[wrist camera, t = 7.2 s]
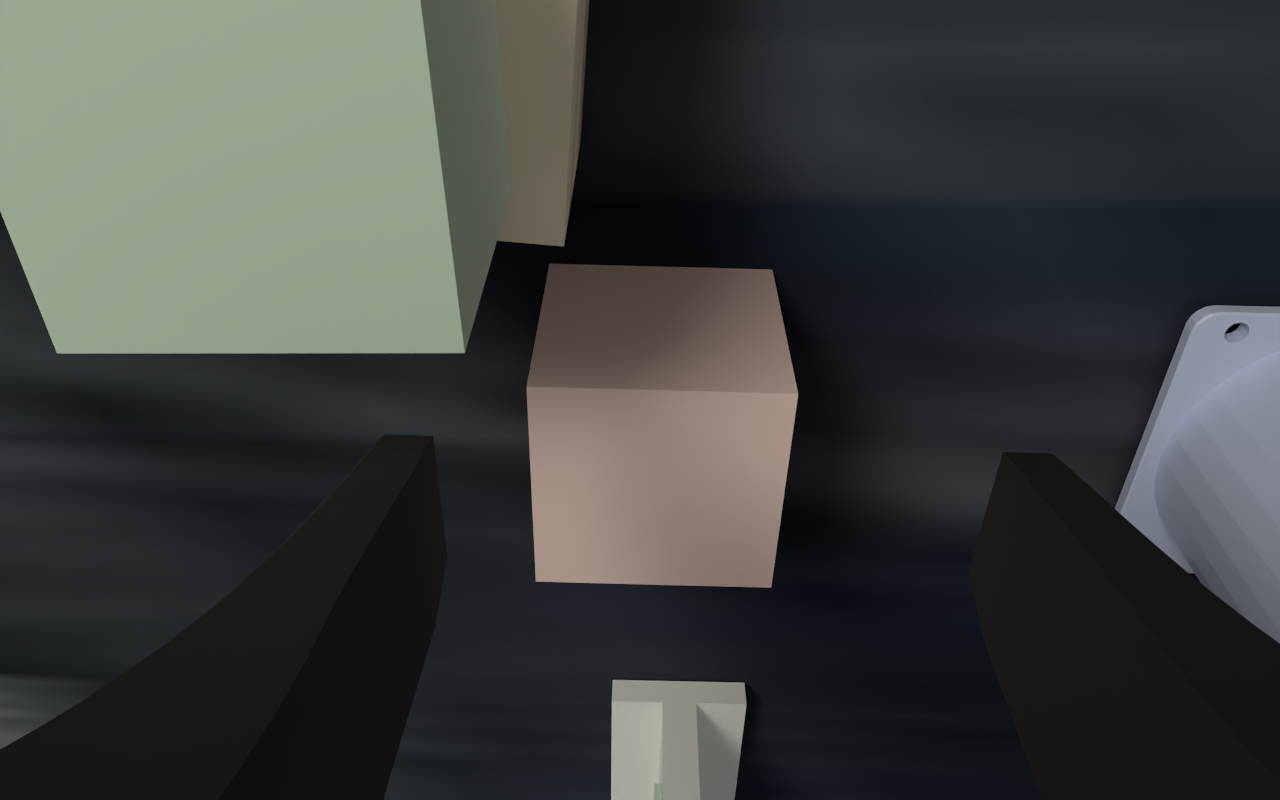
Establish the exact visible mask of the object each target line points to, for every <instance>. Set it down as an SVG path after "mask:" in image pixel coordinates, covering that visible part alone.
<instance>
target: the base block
mask: <svg viewBox="0 0 1280 800" xmlns="http://www.w3.org/2000/svg"><path fill="white" fill-rule="evenodd" d="M496 10H497V21H498V33H499V45H500V57H501V68H502V80H503V92H504V104H505V115H506V127H507V139H508V151H509V163H510V174H511V186H512V190H511V194H510V197H509V201H508V204H507V208H506V211H505V215H504V218H503V222H502V225H501V229H500V232H499V236H498V239H497V241H507V242H518V243H529V244H541V245H552V246H563V247H564V243H565V236H566V230H567V224H568V218H569V211H570V205H571V199H572V193H573V186H574V180H575V174H576V167H577V161H578V155H579V149H580V142H581V126H582V109H583V93H584V77H585V60H586V44H587V27H588V11H589V0H496Z"/></svg>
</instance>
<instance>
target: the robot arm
mask: <svg viewBox="0 0 1280 800" xmlns="http://www.w3.org/2000/svg"><path fill="white" fill-rule="evenodd" d="M1237 323H1240V325H1239V326H1238V328H1237V329H1236V330H1234V331H1233V332H1231V333H1227V334H1225V332H1226V330H1227V329H1228V328H1229V327H1230V326H1232V325H1233V324H1237ZM446 557H447V553H446V544H445V536H444V527H443V519H442V510H441V502H440V493H439V485H438V476H437V467H436V459H435V450H434V442H433V436H418V435H384V436H383V437H382V438H380V439H379V440H378V441H377V442H376V443H375V444H374V445H373V446H372V448H371V449H370V450H369V451H368V452H367V453H366V454H365V455H364V457H363V458H362V459H361V460H360V461H359V462H358V463H357V464H356V466H355V467H354V468H353V469H352V470H351V471H350V472H349V473H348V474H347V476H346V477H345V478H344V479H343V480H342V481H341V482H340V483H339V484H338V486H337V487H336V488H335V489H334V490H333V491H332V492H331V493H330V494H329V495H328V496H327V498H326V499H325V500H324V501H323V502H322V503H321V504H320V505H319V506H318V507H317V508H316V509H315V510H314V511H313V512H312V513H311V514H310V515H309V516H308V517H307V518H306V519H305V521H304V522H303V523H302V524H301V525H300V526H299V527H298V528H297V529H296V530H295V531H294V532H293V533H292V534H291V535H290V536H289V537H288V538H287V539H286V540H285V541H284V542H283V543H282V544H281V545H280V546H279V547H278V548H277V549H276V550H275V551H274V552H273V553H272V554H271V555H269V556H268V557H267V558H266V559H265V560H264V561H263V562H262V563H261V564H260V565H259V566H258V567H257V568H255V569H254V570H253V571H252V572H251V573H250V574H249V575H248V576H247V577H246V578H245V579H244V580H243V581H241V582H240V583H239V584H238V585H237V586H236V587H235V588H234V589H233V590H232V591H231V592H229V593H228V594H227V595H226V596H225V597H224V598H222V599H221V600H220V601H219V602H218V603H217V604H215V605H214V606H213V607H212V608H211V609H210V610H208V611H207V612H206V613H205V614H203V615H202V616H201V617H200V618H199V619H197V620H196V621H195V622H194V623H192V624H191V625H190V626H189V627H187V628H186V629H185V630H183V631H182V632H181V633H180V634H178V635H177V636H176V637H174V638H173V639H172V640H171V641H169V642H168V643H167V644H165V645H164V646H162V647H161V648H160V649H158V650H157V651H156V652H154V653H153V654H151V655H150V656H148V657H147V658H145V659H144V660H143V661H141V662H140V663H138V664H137V665H135V666H134V667H132V668H131V669H129V670H128V671H126V672H125V673H123V674H122V675H120V676H119V677H117V678H116V679H115V680H113V681H112V682H110V683H109V684H107V685H106V686H104V687H103V688H101V689H100V690H98V691H97V692H95V693H94V694H92V695H91V696H89V697H88V698H86V699H85V700H83V701H82V702H80V703H79V704H77V705H75V706H74V707H72V708H70V709H69V710H67V711H65V712H64V713H62V714H61V715H59V716H57V717H56V718H54V719H52V720H51V721H49V722H47V723H46V724H44V725H42V726H41V727H39V728H37V729H36V730H34V731H32V732H30V733H29V734H27V735H25V736H23V737H22V738H20V739H18V740H16V741H14V742H13V743H11V744H9V745H7V746H6V747H4V748H2V749H0V800H384V796H385V792H386V788H387V784H388V780H389V777H390V774H391V771H392V767H393V764H394V761H395V757H396V754H397V751H398V748H399V744H400V741H401V738H402V734H403V731H404V728H405V725H406V721H407V718H408V715H409V711H410V708H411V705H412V702H413V698H414V695H415V692H416V688H417V685H418V682H419V678H420V675H421V672H422V668H423V665H424V662H425V658H426V655H427V652H428V648H429V645H430V641H431V638H432V635H433V631H434V628H435V623H436V617H437V612H438V606H439V601H440V595H441V589H442V582H443V576H444V570H445V564H446ZM1189 573H1195V575H1196V576H1197V578H1198V579H1199V581H1200V582H1199V581H1198V580H1196V579H1195V578H1194V577H1193V576H1192V575H1190V574H1189ZM969 574H970V578H971V583H972V588H973V593H974V598H975V603H976V608H977V613H978V617H979V621H980V625H981V630H982V634H983V638H984V642H985V645H986V648H987V651H988V654H989V656H990V659H991V662H992V665H993V668H994V670H995V673H996V676H997V679H998V681H999V684H1000V687H1001V690H1002V692H1003V695H1004V698H1005V701H1006V703H1007V706H1008V709H1009V711H1010V714H1011V717H1012V719H1013V722H1014V725H1015V727H1016V730H1017V733H1018V736H1019V738H1020V741H1021V744H1022V746H1023V749H1024V752H1025V754H1026V757H1027V760H1028V762H1029V765H1030V768H1031V770H1032V773H1033V776H1034V779H1035V781H1036V784H1037V787H1038V789H1039V792H1040V795H1041V797H1042V800H1280V307H1264V306H1220V305H1214V306H1207V307H1204V308H1202V309H1200V310H1198V311H1196V312H1195V313H1194V314H1193V315H1192V316H1190V318H1189V319H1188V321H1187V323H1186V324H1185V327H1184V330H1183V332H1182V335H1181V337H1180V340H1179V343H1178V345H1177V348H1176V350H1175V353H1174V356H1173V358H1172V361H1171V363H1170V366H1169V369H1168V371H1167V374H1166V376H1165V379H1164V382H1163V384H1162V387H1161V389H1160V392H1159V395H1158V397H1157V400H1156V402H1155V405H1154V408H1153V410H1152V413H1151V415H1150V418H1149V421H1148V423H1147V426H1146V429H1145V431H1144V434H1143V436H1142V439H1141V442H1140V444H1139V447H1138V449H1137V452H1136V455H1135V457H1134V460H1133V462H1132V465H1131V468H1130V470H1129V473H1128V475H1127V478H1126V481H1125V483H1124V486H1123V488H1122V491H1121V494H1120V496H1119V499H1118V501H1117V504H1116V507H1115V509H1114V508H1113V507H1112V506H1111V505H1110V504H1109V503H1108V502H1107V501H1105V500H1104V499H1103V498H1102V497H1101V496H1100V495H1099V494H1098V493H1097V492H1096V491H1094V490H1093V489H1092V488H1091V487H1090V486H1089V485H1088V484H1087V483H1085V482H1084V481H1083V480H1082V479H1081V478H1080V477H1079V476H1078V475H1076V474H1075V473H1074V472H1073V471H1072V470H1071V469H1070V468H1068V467H1067V466H1066V465H1065V464H1064V463H1063V462H1061V461H1060V460H1059V459H1058V458H1056V457H1055V456H1054V455H1053V454H1050V453H1015V452H1003V454H1002V458H1001V461H1000V465H999V468H998V472H997V475H996V479H995V482H994V485H993V489H992V492H991V496H990V499H989V503H988V506H987V510H986V513H985V516H984V520H983V523H982V527H981V530H980V534H979V537H978V540H977V544H976V547H975V551H974V554H973V558H972V561H971V565H970V568H969Z"/></svg>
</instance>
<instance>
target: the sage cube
mask: <svg viewBox="0 0 1280 800" xmlns="http://www.w3.org/2000/svg"><path fill="white" fill-rule="evenodd" d="M511 190H512V186H511V174H510V163H509V151H508V139H507V127H506V115H505V104H504V92H503V80H502V68H501V57H500V45H499V33H498V21H497V10H496V0H0V212H1V214H2V217H3V219H4V222H5V224H6V227H7V229H8V232H9V234H10V237H11V239H12V242H13V244H14V247H15V249H16V252H17V254H18V257H19V259H20V262H21V264H22V267H23V269H24V272H25V274H26V277H27V279H28V282H29V284H30V287H31V289H32V292H33V294H34V297H35V299H36V302H37V304H38V307H39V309H40V312H41V314H42V317H43V319H44V322H45V324H46V327H47V329H48V332H49V334H50V337H51V339H52V342H53V344H54V347H55V349H56V352H57V353H465V351H466V347H467V344H468V340H469V337H470V333H471V330H472V326H473V323H474V319H475V316H476V312H477V309H478V305H479V302H480V298H481V295H482V291H483V288H484V284H485V281H486V277H487V274H488V270H489V267H490V263H491V260H492V257H493V253H494V250H495V246H496V243H497V239H498V236H499V232H500V229H501V225H502V222H503V218H504V215H505V211H506V208H507V204H508V201H509V197H510V194H511Z"/></svg>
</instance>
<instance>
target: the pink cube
mask: <svg viewBox="0 0 1280 800" xmlns="http://www.w3.org/2000/svg"><path fill="white" fill-rule="evenodd" d="M797 399H798V390H797V386H796V381H795V376H794V371H793V366H792V362H791V357H790V352H789V347H788V342H787V338H786V333H785V328H784V323H783V318H782V314H781V309H780V304H779V299H778V294H777V289H776V285H775V280H774V275H773V270H768V269H730V268H693V267H656V266H619V265H581V264H549V269H548V274H547V280H546V285H545V290H544V296H543V301H542V306H541V312H540V317H539V323H538V328H537V333H536V339H535V344H534V349H533V355H532V360H531V366H530V371H529V376H528V382H527V405H528V426H529V447H530V468H531V489H532V510H533V530H534V551H535V572H536V582H574V583H613V584H651V585H689V586H727V587H766V588H771V585H772V578H773V571H774V564H775V557H776V550H777V542H778V535H779V528H780V521H781V514H782V507H783V499H784V492H785V485H786V478H787V471H788V464H789V456H790V449H791V442H792V435H793V428H794V421H795V413H796V406H797Z"/></svg>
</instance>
